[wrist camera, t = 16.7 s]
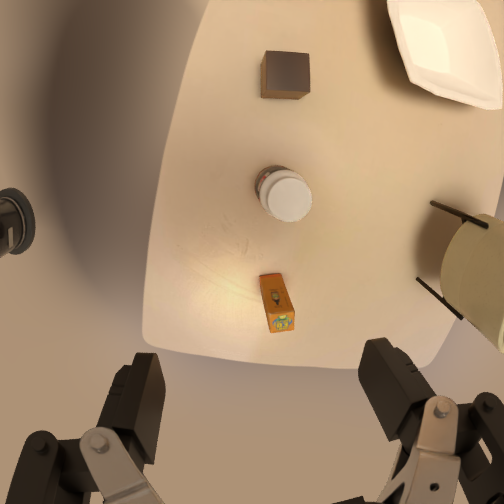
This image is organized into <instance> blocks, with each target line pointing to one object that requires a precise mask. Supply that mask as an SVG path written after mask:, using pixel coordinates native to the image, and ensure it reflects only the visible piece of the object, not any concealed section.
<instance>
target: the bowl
mask: <svg viewBox="0 0 504 504" xmlns="http://www.w3.org/2000/svg"><path fill="white" fill-rule="evenodd" d="M386 1H387V8H388V14H389V17H390V20H391V23H392V27H393V30H394V34H395V38H396V41H397V45H398V49H399V52H400V55H401V57H402V60H403V63H404V66H405V69H406V72H407V75H408V78H409V80H410V82H412V83H413V84H415V85H417V86H419V87H421V88H423V89H425V90H427V91H429V92H431V93H433V94H435V95H437V96H441V97H444V98H448V99H451V100H455V101H458V102H461V103H465V104H468V105H472V106H475V107H479V108H482V109H485V110H494V109H502V96H503V84H502V74H501V66H500V59H499V54H498V50H497V46H496V43H495V40H494V36H493V33H492V30H491V27H490V24H489V22H488V20H487V17H486V15H485V13H484V11H483V9H482V7H481V5H480V4H479V3H478V2H477V1H476V0H386Z"/></svg>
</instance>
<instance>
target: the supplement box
mask: <svg viewBox="0 0 504 504" xmlns="http://www.w3.org/2000/svg"><path fill="white" fill-rule="evenodd" d="M260 287H261V294H262V299H263V304H264V308H265V313H266V317H267V321H268V326H269V330H270V333H276V332H283V331H290V330H294V316H295V311H294V308H293V305H292V303H291V300H290V298H289V295H288V292H287V289H286V287H285V284H284V281H283V278H282V275H281V274H273V275H264V276H260Z"/></svg>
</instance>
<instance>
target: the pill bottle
mask: <svg viewBox="0 0 504 504" xmlns="http://www.w3.org/2000/svg"><path fill="white" fill-rule="evenodd" d="M255 192H256V195H257V197H258V199H259V201H260V203H261V205H262V207H263V208H264V210H265V211H266V212H267V213H268V214H269V215H271V216H272V217H274V218H277V219H279V220H281V221H284V222H295V221H298V220H300V219H302V218H303V217H305V216H306V215H307V213H308V212H309V210H310V208H311V205H312V194H311V191H310V189H309V187H308V184H307V183H306V181H305V180H304V178H303V177H302V176H301V175H299V174H298V173H296V172H294V171H292V170H290V169H287V168H285V167H283V166H270V167H267V168H265V169H264V170H262V171H261V172H260V174H259V175H258V176H257V178H256V181H255Z"/></svg>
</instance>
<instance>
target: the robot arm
mask: <svg viewBox="0 0 504 504" xmlns="http://www.w3.org/2000/svg"><path fill="white" fill-rule="evenodd" d="M26 232H27V224H26V218H25V214H24V211H23V209H22V207H21V206H20V204H19V203H18V202H17V201H16V200H15V199H14V198H12V197H9V196H5V197H2V198H0V258H1V257H3V256H4V255H6V254H7V253H9V252H10V251H12V250H14V249H16V248H18V247H19V246H21V245H22V243H23V242H24V240H25V237H26ZM358 376H359V381H360V383H361V385H362V387H363V389H364V391H365V393H366V395H367V397H368V399H369V401H370V403H371V405H372V407H373V409H374V411H375V414H376V416H377V418H378V420H379V422H380V424H381V426H382V428H383V430H384V432H385V434H386V436H387V438H388V440H389V442H390V441H393V440H396V439H400V441H401V444H400V446H399V449H398V452H397V455H396V458H395V461H394V464H393V467H392V470H391V473H390V476H389V478H388V481H387V484H386V486H385V487H384V489H383V491H382V492H381V494H380V495H379V497H378V499H377V501H376V502H365V501H364V498H363V496H360V497H356V498H353V499H349V500H345V501H341V502H337V503H333V504H453V501H454V496H455V492H456V486H457V482H458V479H459V482H460V484H461V486H462V488H463V491H464V493H465V495H466V498H467V500H468V502H469V504H504V405H503V403H502V402H501V400H500V399H499V398H498V397H497V396H496V395H494V394H492V393H488V392H483V393H480V394H479V395H477V397H476V398H475V400H474V401H473V403H467V404H458V405H457V404H456V403H455V402H454V401H453V400H451V399H450V398H448V397H445V396H437V395H436V394H435V392H434V391H433V390H432V388H431V387H430V385H429V384H428V382H427V381H426V380H425V378H424V377H423V375H422V374H421V373H420V371H418V369H417V367H416V366H415V364H413V362H412V360H411V359H410V358H409V356H408V355H407V354H406V353H405V352H403V351H402V350H400V349H399V348H397V347H396V348H394V347H393V346H392V345H391V343H390V342H389V341H388V339H387V338H385V337H383V338H377V339H371V340H367V341H366V343H365V347H364V350H363V354H362V358H361V361H360V365H359V369H358ZM165 392H166V389H165V381H164V377H163V374H162V370H161V366H160V362H159V359H158V356H157V354H156V353H136V355H135V357H134V360H133V363H132V365H124V366H123V367H122V368H121V369H120V370H119V371H118V372H117V373H116V375H115V377H114V380H113V383H112V386H111V387H110V390H109V395H107V398H106V401H105V404H104V406H103V409H102V412H101V415H100V418H99V421H98V424H97V426H96V427H95V428H92V429H90V430H88V431H87V432H85V433H84V435H83V436H82V437H81V438H80V439H70V440H57V439H56V438H55V436H54V435H53V434H52V433H50V432H48V431H36V432H34V433H32V434H31V435H30V436H29V437H28V438H27V439H26V441H25V444H24V446H23V449H22V452H21V455H20V457H19V460H18V463H17V466H16V469H15V472H14V475H13V478H12V482H11V485H10V488H9V492H8V496H7V499H6V503H5V504H89V502H90V497H91V492H99V491H100V492H101V494H102V496H103V498H104V501H103V504H165V503H164V502H163V501H162V499H161V498H160V497H159V495H158V494H157V493H156V491H155V490H154V489H153V487H152V486H151V484H150V483H149V482H148V480H147V479H146V477H145V476H144V474H143V469H144V464H154V460H155V453H156V447H157V441H158V440H157V439H158V434H159V428H160V422H161V417H162V411H163V405H164V400H165ZM481 438H482V439H483V441H484V442H485V444H486V446H487V447H488V449H489V451H490V453H491V455H492V463H491V464H490V463H489V461H488V459H487V457H486V455H485V454H484V452H483V450H482V448H481V446H480V444H479V443H478V442H479V441H480V439H481Z"/></svg>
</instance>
